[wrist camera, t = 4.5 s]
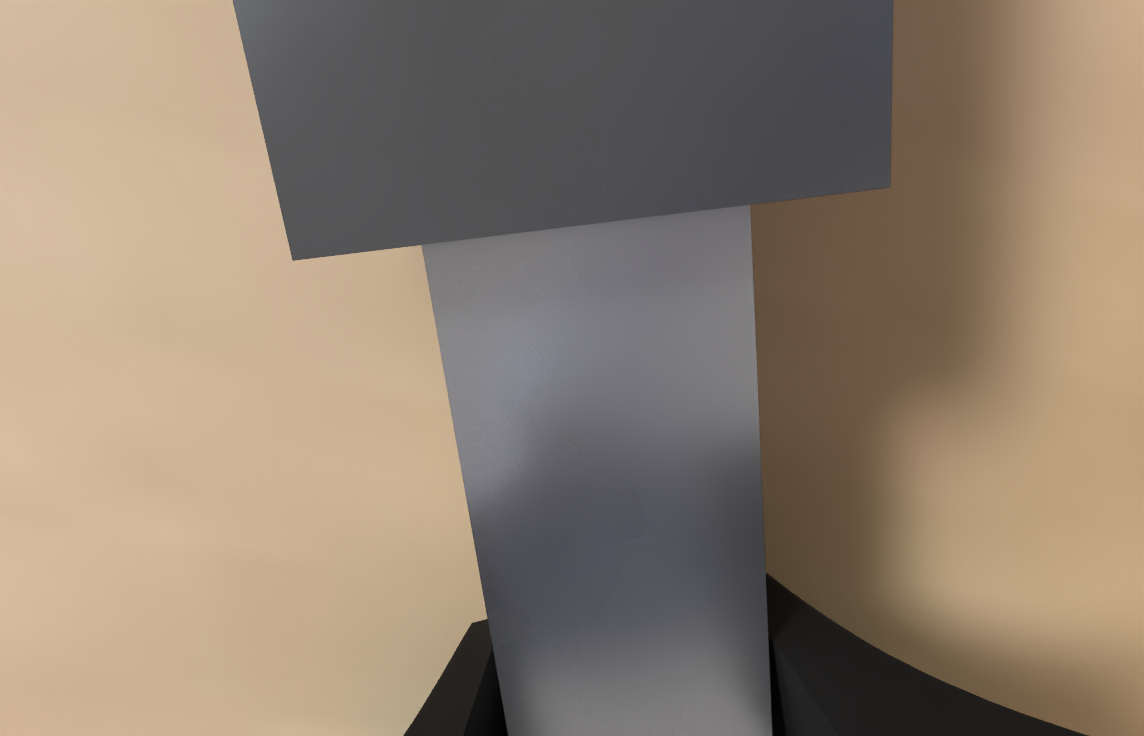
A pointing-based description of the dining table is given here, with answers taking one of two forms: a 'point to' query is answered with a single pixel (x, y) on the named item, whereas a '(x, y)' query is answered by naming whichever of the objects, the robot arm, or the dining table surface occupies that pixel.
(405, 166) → the dark grey rectangular bar
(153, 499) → the dining table surface
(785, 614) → the robot arm
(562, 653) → the grey square bar
